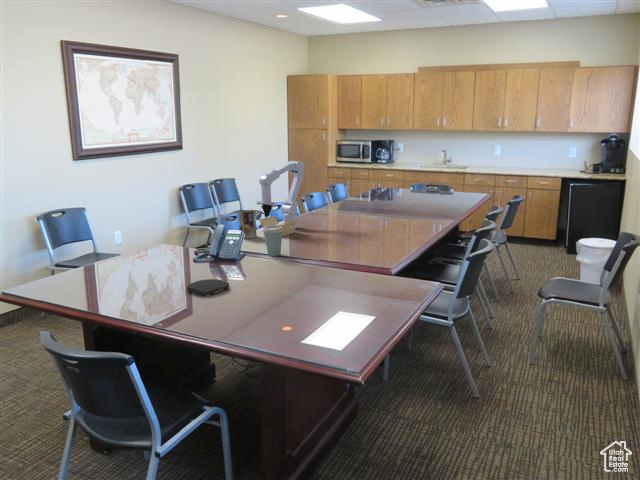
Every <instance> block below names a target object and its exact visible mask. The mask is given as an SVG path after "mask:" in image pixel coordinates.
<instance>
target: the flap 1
mask: <svg viewBox="0 0 640 480" xmlns="http://www.w3.org/2000/svg"><path fill="white" fill-rule="evenodd" d="M258 221H259V223H260V224H261V225H262V227H263V228H264V227H266V226H270V225H280V223H279V222H278V220H277V218H276V216H275V215H273V216H269V217H264V218H260V219H258Z"/></svg>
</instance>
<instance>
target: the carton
mask: <svg viewBox="0 0 640 480" xmlns="http://www.w3.org/2000/svg"><path fill="white" fill-rule="evenodd" d="M279 225H280V226H283V225H284V224H279ZM295 233H296V228H295V226H293V227H289V228H286V229H283V231H282V237H285V236H289V235H291V234H295Z"/></svg>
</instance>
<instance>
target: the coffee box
mask: <svg viewBox="0 0 640 480" xmlns="http://www.w3.org/2000/svg"><path fill="white" fill-rule="evenodd" d="M256 221H257V219H256V210H254V209H251V210H249V209H248V210H245V209H244V210H240V211H239V212H238V222H239V231H240V230H243V231H244V233H245V238H244V239H256V237H257V235H258V234H257V222H256Z"/></svg>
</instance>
